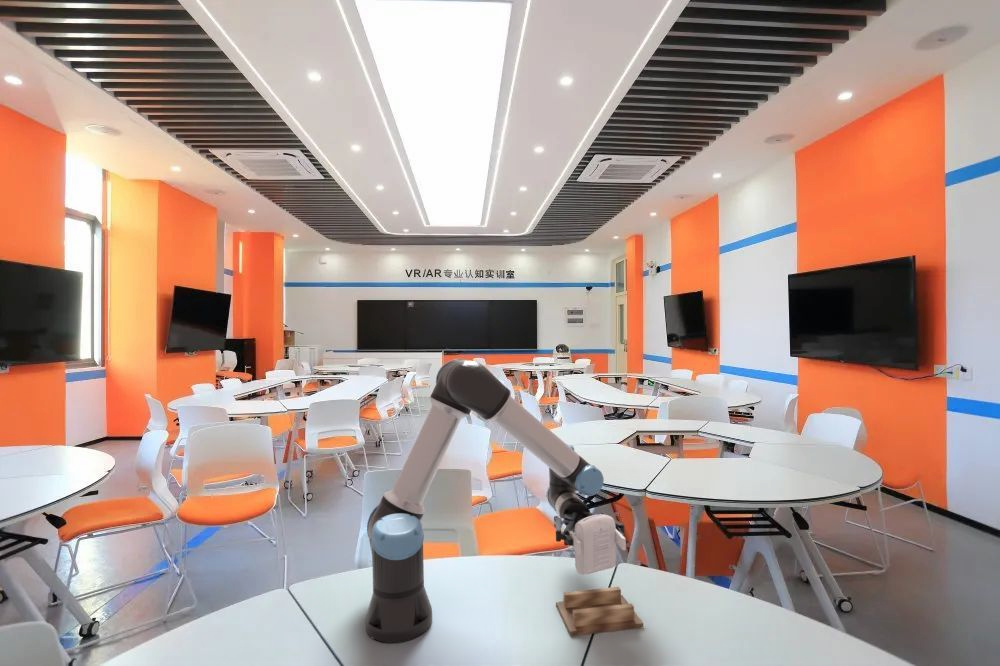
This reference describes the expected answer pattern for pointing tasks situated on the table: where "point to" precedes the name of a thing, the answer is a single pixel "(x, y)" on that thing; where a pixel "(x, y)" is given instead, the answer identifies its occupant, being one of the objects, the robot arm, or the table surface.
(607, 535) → the photo printer
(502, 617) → the table surface
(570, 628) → the rack
